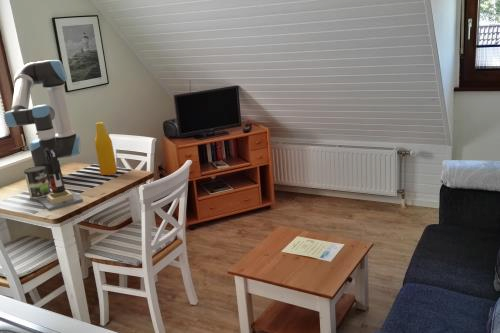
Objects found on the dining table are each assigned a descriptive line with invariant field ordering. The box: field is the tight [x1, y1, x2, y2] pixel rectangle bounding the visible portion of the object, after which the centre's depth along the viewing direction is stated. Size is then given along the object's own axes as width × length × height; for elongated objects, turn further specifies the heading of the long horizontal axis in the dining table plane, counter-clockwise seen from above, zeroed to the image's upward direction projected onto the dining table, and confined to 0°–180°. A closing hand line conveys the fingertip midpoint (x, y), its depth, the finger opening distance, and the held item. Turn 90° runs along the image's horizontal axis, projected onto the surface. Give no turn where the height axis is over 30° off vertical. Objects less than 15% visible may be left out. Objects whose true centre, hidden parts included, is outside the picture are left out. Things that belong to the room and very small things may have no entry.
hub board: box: [38, 188, 84, 212], centre depth 251 cm, size 18×16×4 cm
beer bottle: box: [94, 121, 118, 176], centre depth 287 cm, size 9×9×29 cm
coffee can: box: [23, 166, 52, 200], centre depth 263 cm, size 10×10×14 cm
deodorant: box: [46, 159, 66, 193], centre depth 248 cm, size 6×6×15 cm
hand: (57, 184), depth 249 cm, fingers closed on deodorant, 6 cm apart
